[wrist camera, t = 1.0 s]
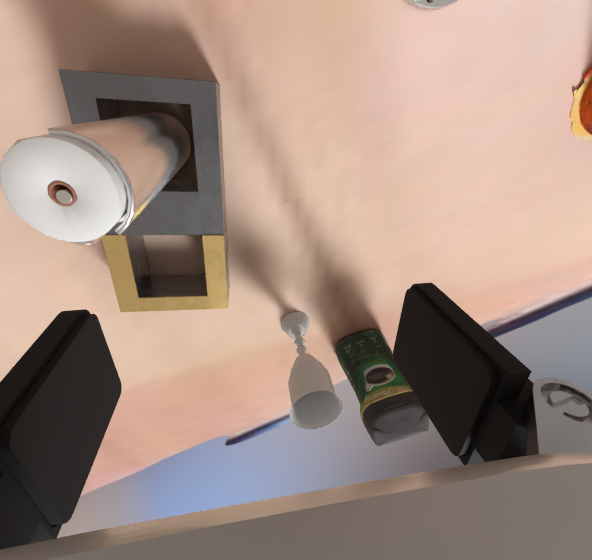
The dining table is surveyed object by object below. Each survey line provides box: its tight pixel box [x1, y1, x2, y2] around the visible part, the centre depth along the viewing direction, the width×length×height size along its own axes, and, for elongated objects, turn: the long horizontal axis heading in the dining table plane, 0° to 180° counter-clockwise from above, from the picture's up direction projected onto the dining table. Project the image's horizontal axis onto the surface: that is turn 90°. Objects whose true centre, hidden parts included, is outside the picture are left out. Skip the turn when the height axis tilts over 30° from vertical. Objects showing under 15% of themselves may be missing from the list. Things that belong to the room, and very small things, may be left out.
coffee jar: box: [336, 329, 429, 446], centre depth 52 cm, size 10×8×19 cm
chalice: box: [281, 312, 342, 429], centre depth 47 cm, size 7×7×18 cm
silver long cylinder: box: [0, 112, 191, 245], centre depth 27 cm, size 6×6×25 cm
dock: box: [59, 69, 229, 312], centre depth 39 cm, size 27×14×6 cm, turn 176°
